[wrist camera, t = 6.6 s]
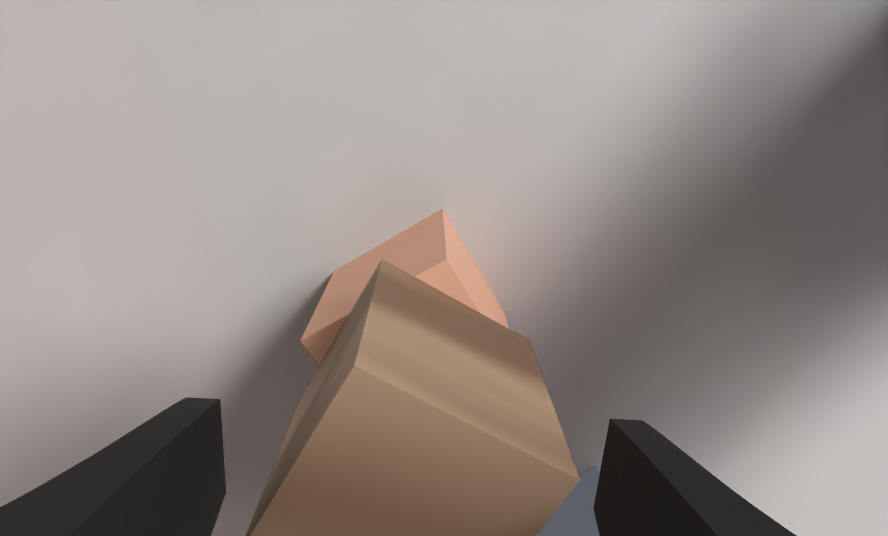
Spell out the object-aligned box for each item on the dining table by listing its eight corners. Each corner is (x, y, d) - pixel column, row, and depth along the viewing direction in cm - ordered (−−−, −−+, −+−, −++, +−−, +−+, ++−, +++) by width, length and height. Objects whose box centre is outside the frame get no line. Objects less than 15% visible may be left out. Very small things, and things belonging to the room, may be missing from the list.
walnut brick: (381, 258, 13) (354, 365, 8) (529, 340, 14) (580, 479, 9) (302, 393, 14) (237, 555, 10) (443, 462, 15) (449, 644, 10)
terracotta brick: (442, 208, 18) (447, 258, 13) (504, 311, 19) (528, 392, 14) (333, 271, 19) (300, 341, 14) (400, 368, 20) (390, 463, 15)
